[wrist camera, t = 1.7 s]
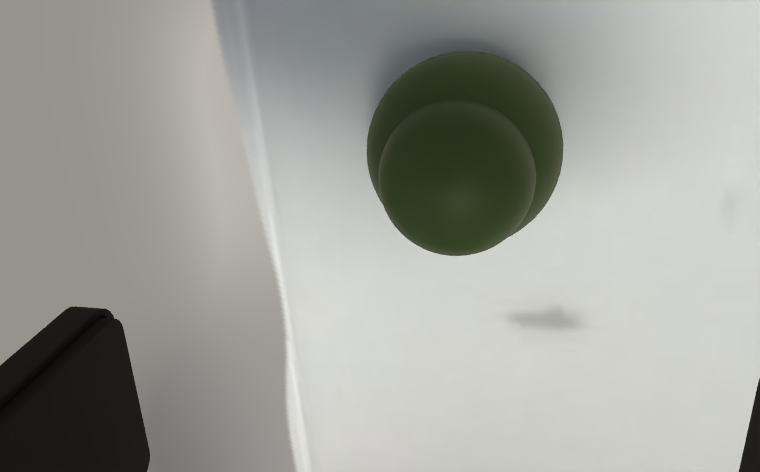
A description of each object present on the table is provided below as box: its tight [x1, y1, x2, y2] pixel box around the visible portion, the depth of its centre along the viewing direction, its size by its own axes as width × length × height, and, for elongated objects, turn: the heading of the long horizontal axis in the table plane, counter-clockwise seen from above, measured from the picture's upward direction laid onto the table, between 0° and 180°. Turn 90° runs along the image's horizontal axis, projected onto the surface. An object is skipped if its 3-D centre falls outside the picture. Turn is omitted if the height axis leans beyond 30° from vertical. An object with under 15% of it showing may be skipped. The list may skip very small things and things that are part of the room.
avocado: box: [367, 51, 563, 256], centre depth 22 cm, size 6×6×8 cm
